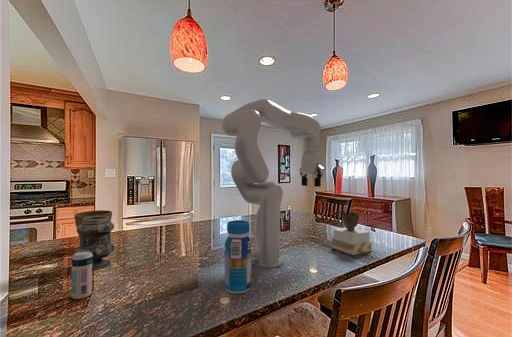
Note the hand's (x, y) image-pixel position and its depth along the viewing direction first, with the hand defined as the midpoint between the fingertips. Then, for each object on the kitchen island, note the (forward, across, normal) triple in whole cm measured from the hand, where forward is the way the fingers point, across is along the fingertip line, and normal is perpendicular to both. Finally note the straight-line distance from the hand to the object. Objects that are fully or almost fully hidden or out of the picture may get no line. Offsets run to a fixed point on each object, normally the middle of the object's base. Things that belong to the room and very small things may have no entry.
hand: (310, 186), depth 117 cm
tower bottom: (+29, +11, +15) cm, 35 cm away
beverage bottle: (+31, +24, -46) cm, 60 cm away
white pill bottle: (+31, +9, -88) cm, 94 cm away
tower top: (+24, +11, +15) cm, 31 cm away
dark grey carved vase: (+31, -16, -88) cm, 95 cm away
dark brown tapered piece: (+20, +10, +15) cm, 27 cm away
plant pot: (+31, -42, -92) cm, 106 cm away
